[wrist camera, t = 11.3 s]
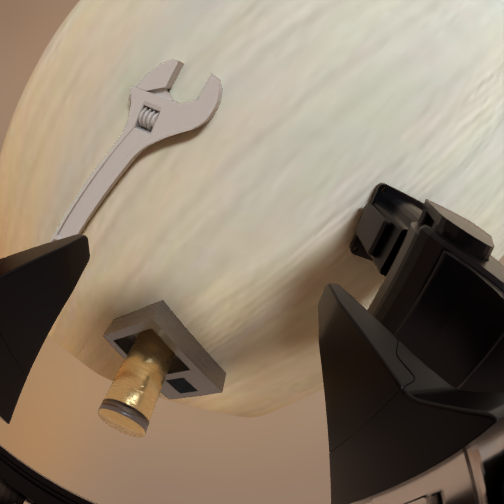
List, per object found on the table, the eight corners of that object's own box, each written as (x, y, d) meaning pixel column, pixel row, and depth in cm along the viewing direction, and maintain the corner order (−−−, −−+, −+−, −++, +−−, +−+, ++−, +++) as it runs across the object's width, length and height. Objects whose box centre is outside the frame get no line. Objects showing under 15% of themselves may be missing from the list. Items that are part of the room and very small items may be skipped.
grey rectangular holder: (226, 373, 32) (222, 392, 29) (174, 382, 34) (169, 399, 32) (162, 300, 27) (152, 318, 24) (113, 319, 29) (102, 335, 27)
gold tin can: (175, 325, 29) (135, 421, 17) (181, 354, 31) (150, 442, 20) (137, 319, 29) (89, 404, 18) (146, 347, 31) (108, 427, 20)
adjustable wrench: (68, 256, 27) (59, 264, 25) (39, 216, 24) (29, 222, 23) (235, 102, 18) (230, 101, 17) (188, 46, 16) (180, 41, 14)
